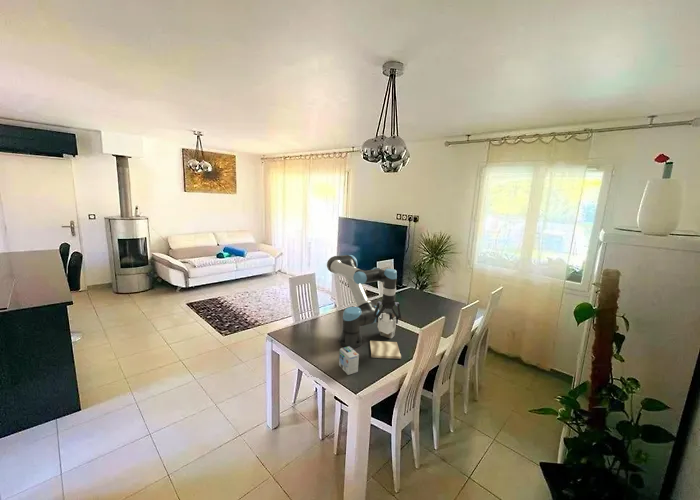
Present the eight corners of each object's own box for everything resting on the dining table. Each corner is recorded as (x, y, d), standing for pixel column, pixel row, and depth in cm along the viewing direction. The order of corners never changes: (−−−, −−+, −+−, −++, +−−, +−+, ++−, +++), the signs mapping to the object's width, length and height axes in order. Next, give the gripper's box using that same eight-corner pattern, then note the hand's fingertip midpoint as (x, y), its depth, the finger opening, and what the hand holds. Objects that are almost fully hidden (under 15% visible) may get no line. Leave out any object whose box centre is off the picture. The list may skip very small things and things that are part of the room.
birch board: (371, 357, 182) (371, 355, 181) (369, 342, 199) (370, 340, 199) (400, 358, 182) (401, 356, 181) (396, 344, 199) (396, 342, 199)
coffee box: (379, 335, 211) (380, 314, 208) (383, 331, 216) (384, 311, 213) (391, 339, 206) (393, 317, 203) (394, 335, 211) (396, 314, 208)
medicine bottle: (384, 327, 193) (385, 309, 190) (393, 331, 188) (395, 313, 186) (378, 330, 187) (379, 313, 185) (387, 334, 183) (389, 316, 181)
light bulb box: (338, 365, 171) (339, 348, 169) (348, 362, 175) (349, 345, 173) (348, 375, 163) (349, 357, 161) (358, 372, 166) (359, 354, 164)
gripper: (371, 295, 180) (369, 329, 184) (408, 297, 180) (405, 331, 184) (370, 291, 187) (368, 324, 191) (406, 292, 187) (403, 326, 191)
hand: (386, 327), depth 187 cm, fingers closed on medicine bottle, 10 cm apart
